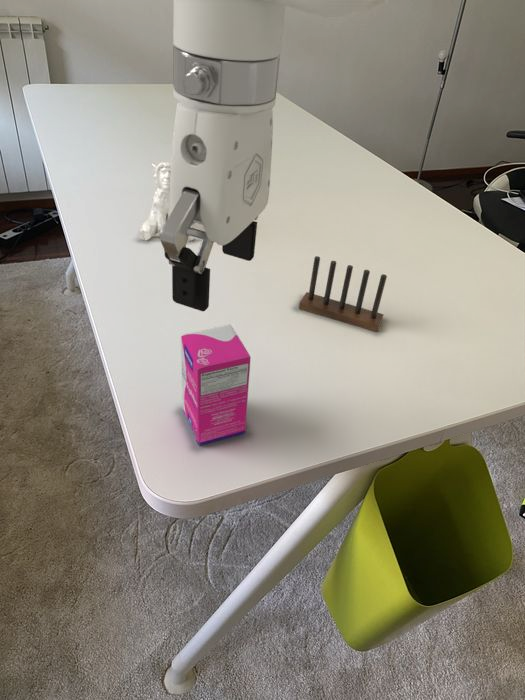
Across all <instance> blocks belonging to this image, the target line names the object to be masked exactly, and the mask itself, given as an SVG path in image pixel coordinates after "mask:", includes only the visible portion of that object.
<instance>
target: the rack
mask: <svg viewBox="0 0 525 700" xmlns="http://www.w3.org/2000/svg"><path fill="white" fill-rule="evenodd" d="M313 259H314V260H313V266H312V270H311V271H312V272H311V278H310V282H309V283H310V284H309V290H308V291H306V292H305V293H304V295H303V296H302V298H301V299H300V300H299V304H298V309H300V310H302V311H306V312H309V313H312V314H316V315H319V316H322V317H325V318H329V319H332V320H336V321H338V322H342V323H346V324H349V325H353V326H355V327H359V328H362V329H366V330H369V331H372V332H376V333H377V332H378V331H379V329H380V326H381V324H382V322H383V319H384V313H381V312H378V311H379V309H380V304H381V300H382V297H383V293H384V289H385V285H386V282H387V277H388V276H387V274H384V273H382V274H381V275H380V278H379V281H378V286H377V290H376V293H375V297H374V302H373V306H372V310H370V309H367V308H364V307H363V303H364V298H365V294H366V290H367V285H368V281H369V277H370V274H371V271H370V270H369V269H364V270H363V274H362V278H361V283H360V287H359V291H358V295H357V300H356V304H355V305H354V304H350V303H347V297H348V293H349V288H350V283H351V280H352V279H351V278H352V274H353V269H354V266H353V265H351V264H349V265H347V266H346V271H345V275H344V280H343V285H342V289H341V290H342V291H341V294H340V299H339V300H335V299H332V298H331V293H332V288H333V283H334V279H335V273H336V267H337V261H336V260H331V261H330V264H329V269H328V274H327V281H326V287H325V292H324V295H323V296H322V295H319V294H315V292H316V287H317V279H318V274H319V269H320V261H321V257H320V256H318V255H317V256H314V258H313Z"/></svg>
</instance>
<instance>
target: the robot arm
mask: <svg viewBox="0 0 525 700" xmlns="http://www.w3.org/2000/svg"><path fill="white" fill-rule="evenodd" d="M388 1H389V0H172V33H173V34H172V39H173V40H172V41H173V42H172V43H173V45H172V65H173V67H172V71H173V72H172V73H173V75H172V76H173V78H172V79H173V80H172V84H173V85H172V87H173V89H172V91H173V98H174V99H175V100H176V101H177V103H176V108H175V116H174V124H173V132H172V133H173V134H172V144H171V157H170V158H171V159H170V162H171V179H170V208H171V214H170V216H169V218H168V219H167V221H166V223H165V225H164V226H163V228H162V230H161V232H160V236H159V241H160V243H161V245H162V248H163V251H164V257H165V259H166V260H167V261H168V264H169V265H170V266H171V270H172V271H171V281H172V283H171V284H172V285H171V286H172V287H171V288H172V290H171V291H172V293H171V294H172V296H171V297H172V301H173V302H174V303H176V304H178V305H181V306H185V307H188V308H191V309H194V310H198V311H199V312H206V311H207V310H208V308H209V306H210V287H211V286H210V285H211V284H210V283H211V268H209V267H206V266H207V264H208V261H209V257H210V255H211V251H212V249H213V246H214V243H216V244H217V245H219V246H221V247H222V248H221V251H222V253H223V254H225V255H228V256H231V257H234V258H237V259H241V260H243V261H248V262H251V261H252V260H253V259H254V257H255V250H256V239H257V229H258V222H257V220H258V218H259V216H260V215H261V214H262V213H263V212H264V210H265V209H266V207H267V205H268V203H269V200H270V199H269V197H270V186H271V185H270V184H271V174H272V173H271V172H272V155H273V154H272V153H273V132H274V128H273V127H274V120H273V119H274V118H273V117H274V115H273V114H274V113H273V112H274V111H273V108H274V107H275V105H276V101H277V100H276V99H277V91H278V81H279V69H280V61H281V60H280V59H281V51H282V42H283V33H284V32H283V31H284V22H285V13H286V7H288V8H292V9H294V10H296V11H300V12H301V13H304V14H308V15H311V16H314V17H318V18H323V19H332V20H339V19H340V20H342V19H348V18H352V17H355V16H358V15H361V14H363V13H364V12H368V11H369V10H371V9H373V8H375V7H376V6H378V5H381V4H384V3H386V2H388ZM194 224H197V225H202V227H203V230H200V229H197V228H194V227H193V225H194ZM191 226H192V227H193V228H190V227H191ZM188 237H190V238H193V240H197V241H200V245H199V247H198V251H197V254H196V253H195V252H194V251H193V250H192V248H190V247H187V243H188Z"/></svg>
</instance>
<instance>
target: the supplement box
mask: <svg viewBox="0 0 525 700" xmlns="http://www.w3.org/2000/svg"><path fill="white" fill-rule="evenodd" d="M180 356H181V357H180V358H181V359H180V360H181V387H182V388H181V395H182V396H181V397H182V412H183V414H184V416H185V418H186V419H187V421H188V424H189V426H190V429H191V430H192V433H193V435H194V438H195V441H196V443H197V445H198V446H201V445H205V444H209V443H212V442H217V441H221V440H223V439H228V438H232V437H235V436H240V435H244V434H246V427H247V426H246V425H247V414H248V413H247V411H248V399H249V398H248V397H249V383H250V372H251V371H250V370H251V358H252V357H251V355H250V354H249V351H248V350H247V349H246V346H245V344H244V343H243V342H242V340H241V338H240V337H239V336H238V334H237V332H236V331H235V329H234V328H233V326H232V324H225V325H222V326H217V327H216V326H215V327H212V328H207V329H204V330H197V331H193V332H192V331H191V332H188V333H182V334H181V335H180Z"/></svg>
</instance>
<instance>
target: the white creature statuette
mask: <svg viewBox="0 0 525 700" xmlns="http://www.w3.org/2000/svg"><path fill="white" fill-rule="evenodd" d="M150 165H151V167H152V169H153V172H154V174H153V178H154V182H155V185H156V186H157V189H156V190H155V191H154V194H153V197H152V206H151V210H150V211H149V217H148V219H146V220H145V222H143V223H142V226H141V227H140V229H139V231H138V236H139V238H140V239H141V240H144V241H149V240H150V239H151V238H157V237H160V232H161V230H162V228H163V226H164V225H165V223H166V221H167V219H168V218H169V216H170V214H171V208H170V179H171V161H163V162H159V164H155V163H150ZM190 228H194V227H193V225H192V226H191V227H190ZM193 240H194V239H193V238H190V237H188V240H187V242H192V241H193Z"/></svg>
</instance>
